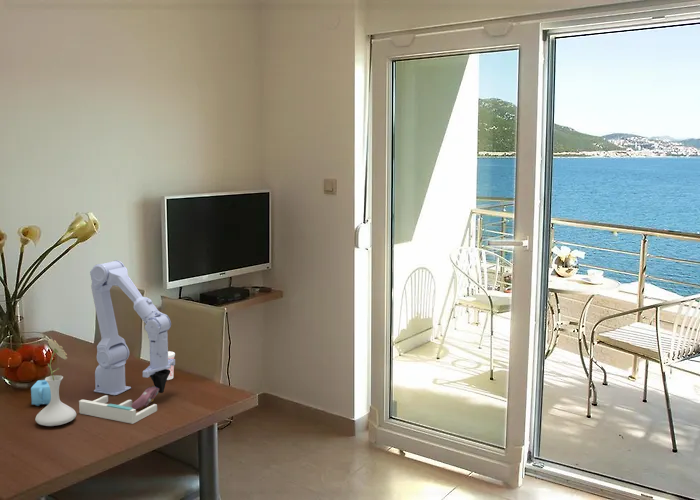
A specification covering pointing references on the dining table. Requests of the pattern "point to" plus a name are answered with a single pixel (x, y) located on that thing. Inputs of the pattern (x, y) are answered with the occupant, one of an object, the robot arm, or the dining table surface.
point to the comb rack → (114, 410)
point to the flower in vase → (55, 397)
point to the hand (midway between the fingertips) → (160, 392)
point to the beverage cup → (171, 356)
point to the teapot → (40, 393)
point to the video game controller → (146, 397)
